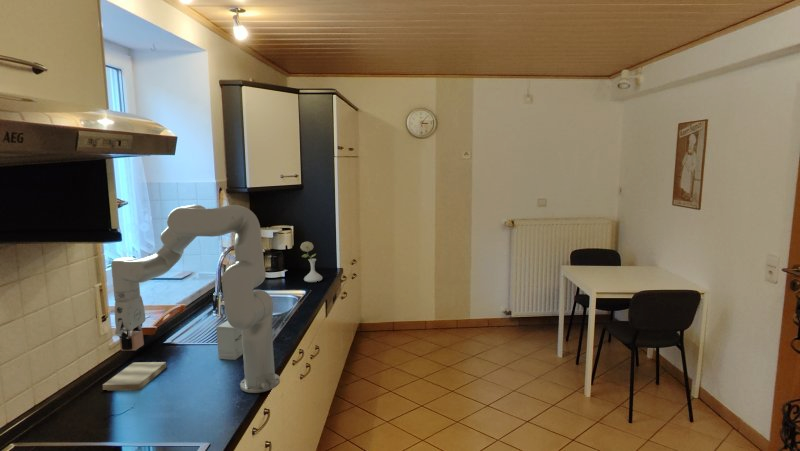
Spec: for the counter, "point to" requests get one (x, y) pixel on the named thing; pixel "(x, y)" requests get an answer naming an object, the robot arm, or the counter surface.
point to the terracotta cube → (135, 340)
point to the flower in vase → (313, 275)
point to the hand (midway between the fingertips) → (132, 345)
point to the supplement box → (229, 342)
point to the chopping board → (135, 376)
